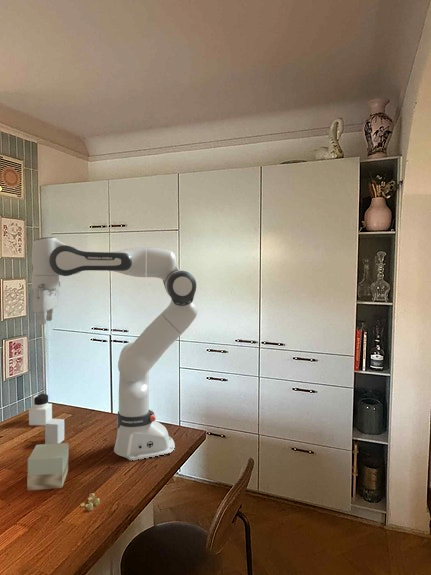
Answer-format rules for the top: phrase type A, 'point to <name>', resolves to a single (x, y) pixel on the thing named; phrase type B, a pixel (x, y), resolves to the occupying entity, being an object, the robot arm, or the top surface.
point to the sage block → (48, 459)
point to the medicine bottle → (40, 410)
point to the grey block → (54, 431)
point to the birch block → (47, 480)
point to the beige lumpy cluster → (90, 501)
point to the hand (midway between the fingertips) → (46, 322)
